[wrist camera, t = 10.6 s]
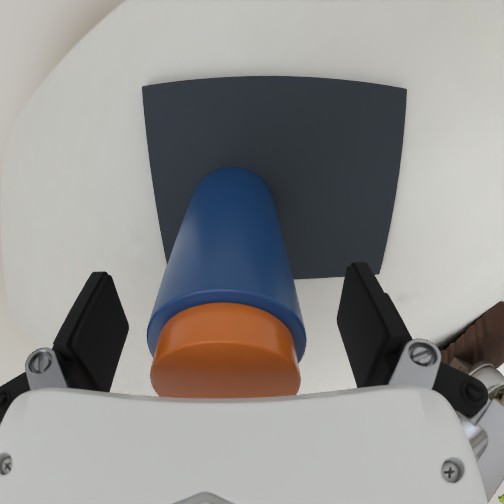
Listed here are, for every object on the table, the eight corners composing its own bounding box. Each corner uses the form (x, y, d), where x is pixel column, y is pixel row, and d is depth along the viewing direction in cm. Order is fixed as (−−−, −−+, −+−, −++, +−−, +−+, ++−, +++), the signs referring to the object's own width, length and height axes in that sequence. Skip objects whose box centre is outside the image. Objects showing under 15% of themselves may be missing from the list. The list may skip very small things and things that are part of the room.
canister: (195, 243, 21) (160, 424, 10) (187, 169, 18) (111, 328, 7) (273, 240, 21) (304, 422, 10) (273, 165, 18) (327, 324, 7)
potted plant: (376, 360, 33) (497, 513, 9) (477, 262, 32) (625, 339, 8) (417, 421, 39) (493, 524, 15) (496, 345, 38) (588, 419, 14)
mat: (172, 279, 23) (170, 284, 22) (144, 86, 15) (141, 86, 15) (376, 270, 23) (379, 274, 23) (402, 88, 16) (407, 89, 15)
